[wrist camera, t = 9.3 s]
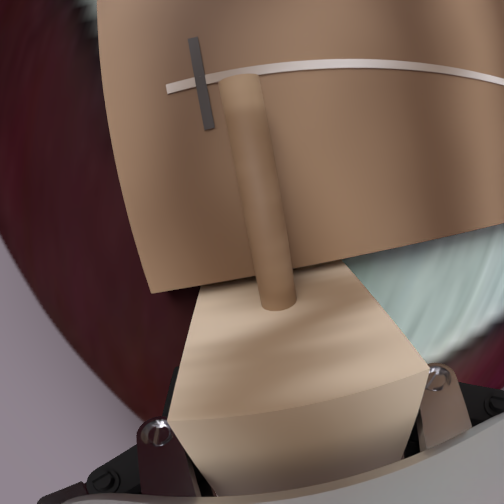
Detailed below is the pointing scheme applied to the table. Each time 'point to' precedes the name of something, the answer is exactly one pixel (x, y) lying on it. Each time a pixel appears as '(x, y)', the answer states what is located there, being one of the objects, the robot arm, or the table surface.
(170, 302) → the table surface
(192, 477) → the robot arm
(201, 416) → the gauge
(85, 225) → the table surface
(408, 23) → the board
